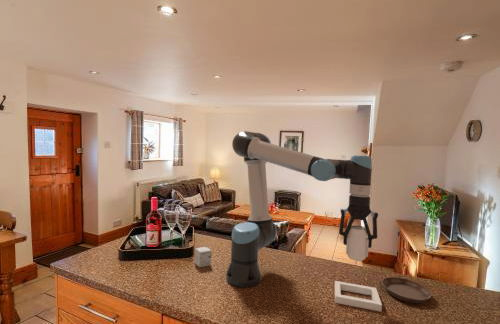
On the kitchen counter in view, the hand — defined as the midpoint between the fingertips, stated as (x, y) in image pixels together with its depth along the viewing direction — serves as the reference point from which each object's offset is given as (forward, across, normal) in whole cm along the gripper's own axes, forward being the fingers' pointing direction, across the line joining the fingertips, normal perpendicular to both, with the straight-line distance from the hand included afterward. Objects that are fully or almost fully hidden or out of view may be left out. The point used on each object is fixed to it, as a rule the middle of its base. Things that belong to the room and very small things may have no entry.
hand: (356, 254), depth 106 cm
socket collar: (+18, +1, 0) cm, 18 cm away
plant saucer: (+18, +21, +12) cm, 30 cm away
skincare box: (+17, -68, +5) cm, 71 cm away
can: (+2, 0, 0) cm, 2 cm away
